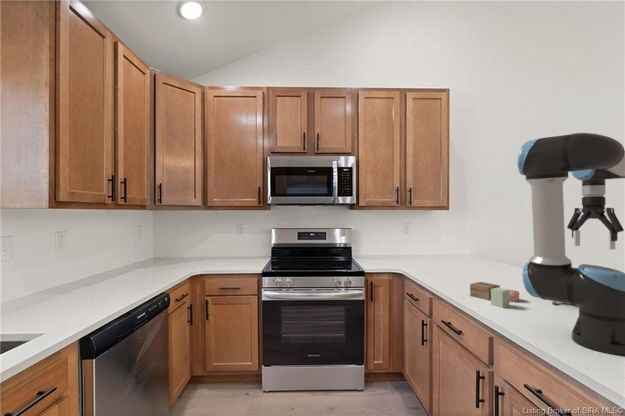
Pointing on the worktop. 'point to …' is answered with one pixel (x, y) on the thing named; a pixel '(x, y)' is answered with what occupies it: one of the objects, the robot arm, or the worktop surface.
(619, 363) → the worktop surface
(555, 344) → the worktop surface
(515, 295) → the brown rounded block
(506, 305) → the green block
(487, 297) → the walnut block
